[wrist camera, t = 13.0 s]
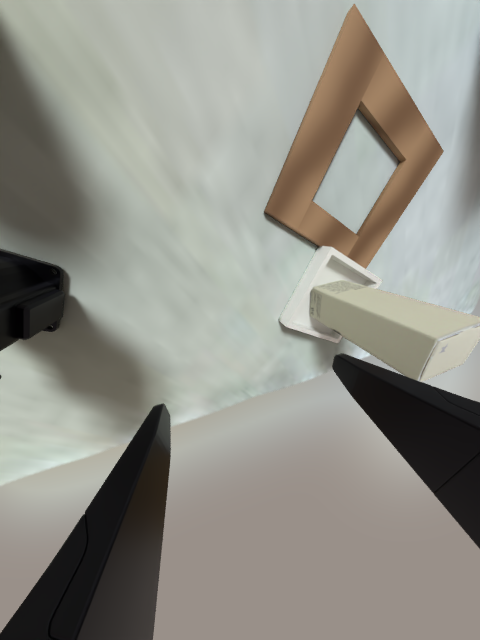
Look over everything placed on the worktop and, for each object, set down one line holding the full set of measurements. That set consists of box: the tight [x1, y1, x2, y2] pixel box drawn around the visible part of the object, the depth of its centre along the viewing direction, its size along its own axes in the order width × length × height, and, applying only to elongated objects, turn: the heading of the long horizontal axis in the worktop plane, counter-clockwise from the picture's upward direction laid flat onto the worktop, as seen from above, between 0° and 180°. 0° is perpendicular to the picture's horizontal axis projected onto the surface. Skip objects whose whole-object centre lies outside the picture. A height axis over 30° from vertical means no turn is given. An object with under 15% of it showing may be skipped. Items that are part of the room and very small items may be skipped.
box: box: [310, 280, 480, 382], centre depth 18 cm, size 5×4×13 cm
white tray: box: [278, 246, 383, 343], centre depth 23 cm, size 10×10×2 cm
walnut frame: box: [264, 4, 444, 269], centre depth 18 cm, size 16×14×1 cm
